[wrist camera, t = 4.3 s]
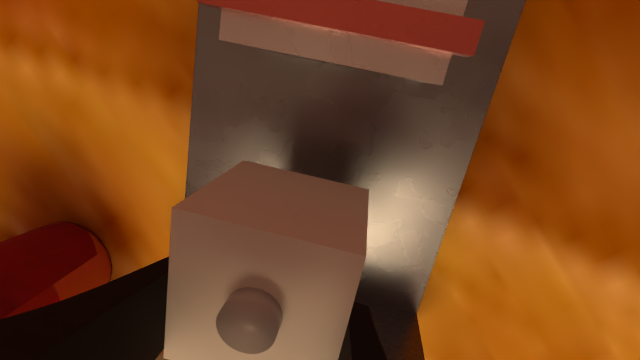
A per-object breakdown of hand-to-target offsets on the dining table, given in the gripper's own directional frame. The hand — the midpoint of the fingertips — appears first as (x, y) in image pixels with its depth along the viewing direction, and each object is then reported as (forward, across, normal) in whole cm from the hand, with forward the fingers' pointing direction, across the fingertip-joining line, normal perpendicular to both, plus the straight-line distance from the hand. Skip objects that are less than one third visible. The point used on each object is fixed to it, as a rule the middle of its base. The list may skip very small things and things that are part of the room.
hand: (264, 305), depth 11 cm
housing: (+4, 0, -1) cm, 4 cm away
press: (+9, 0, -3) cm, 9 cm away
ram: (+8, 0, -9) cm, 12 cm away
